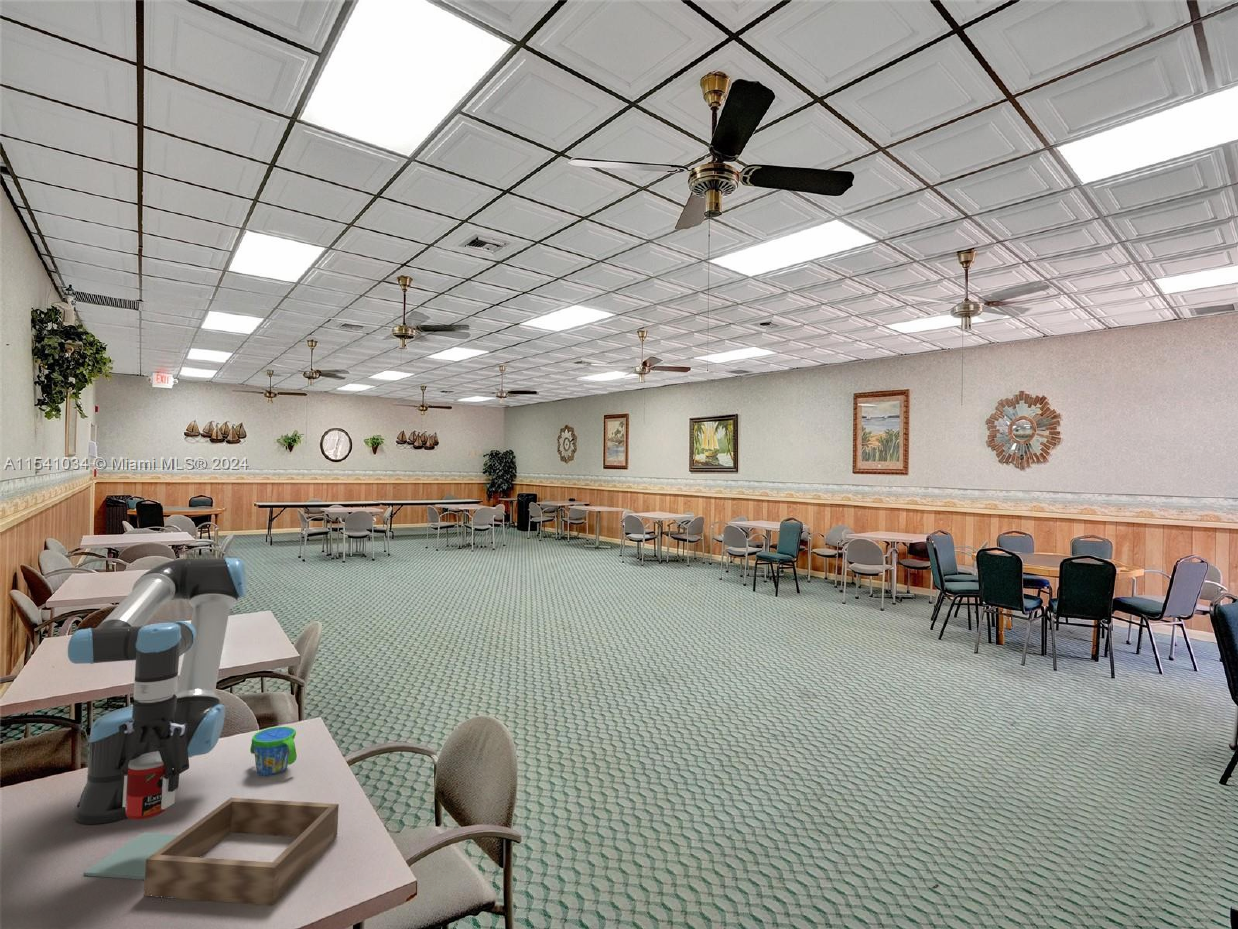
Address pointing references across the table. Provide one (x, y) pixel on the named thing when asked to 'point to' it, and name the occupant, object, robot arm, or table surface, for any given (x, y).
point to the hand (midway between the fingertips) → (148, 804)
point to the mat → (131, 857)
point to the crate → (240, 880)
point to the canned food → (145, 786)
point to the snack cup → (273, 750)
